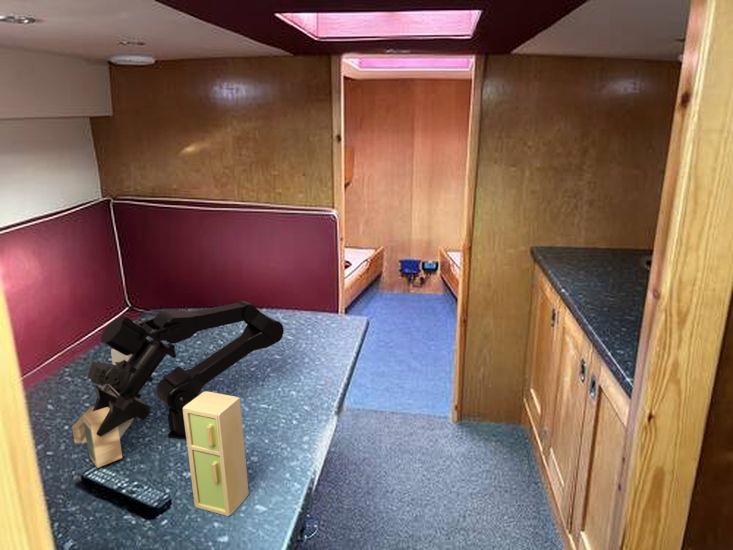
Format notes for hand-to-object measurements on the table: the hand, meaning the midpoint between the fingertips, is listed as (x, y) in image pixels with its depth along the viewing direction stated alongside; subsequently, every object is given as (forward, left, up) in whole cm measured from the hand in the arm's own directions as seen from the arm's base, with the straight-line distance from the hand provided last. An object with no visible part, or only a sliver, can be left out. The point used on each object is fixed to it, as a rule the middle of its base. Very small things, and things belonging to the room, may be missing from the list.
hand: (94, 430), depth 114 cm
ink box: (+15, -35, -9) cm, 39 cm away
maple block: (-1, -1, -7) cm, 7 cm away
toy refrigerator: (-30, +7, -9) cm, 32 cm away
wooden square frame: (+7, -12, -8) cm, 16 cm away
